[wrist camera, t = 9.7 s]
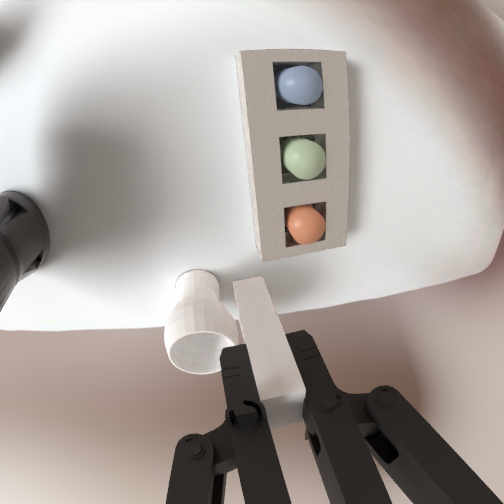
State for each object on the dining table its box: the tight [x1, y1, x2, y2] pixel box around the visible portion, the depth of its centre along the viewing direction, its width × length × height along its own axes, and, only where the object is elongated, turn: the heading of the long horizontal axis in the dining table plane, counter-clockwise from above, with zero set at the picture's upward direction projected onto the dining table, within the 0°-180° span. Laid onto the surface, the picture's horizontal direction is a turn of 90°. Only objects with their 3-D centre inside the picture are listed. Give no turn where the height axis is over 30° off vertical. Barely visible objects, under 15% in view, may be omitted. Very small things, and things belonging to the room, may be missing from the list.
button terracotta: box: [284, 204, 326, 245], centre depth 43 cm, size 5×5×5 cm
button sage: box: [280, 136, 326, 180], centre depth 38 cm, size 5×5×5 cm
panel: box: [235, 49, 350, 262], centre depth 39 cm, size 14×30×4 cm, turn 6°
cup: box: [164, 270, 238, 374], centre depth 43 cm, size 11×11×15 cm
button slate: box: [274, 66, 323, 105], centre depth 33 cm, size 5×5×5 cm
